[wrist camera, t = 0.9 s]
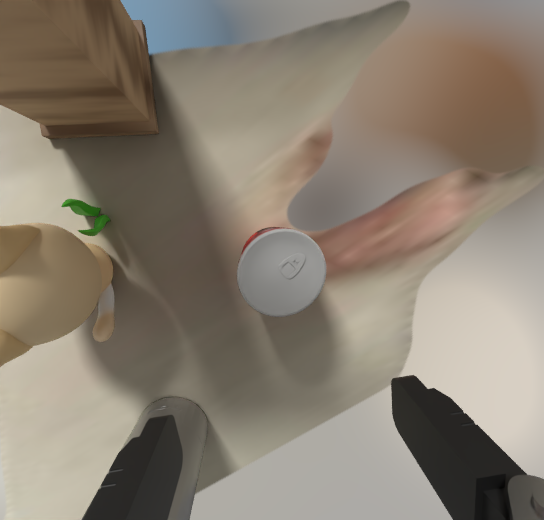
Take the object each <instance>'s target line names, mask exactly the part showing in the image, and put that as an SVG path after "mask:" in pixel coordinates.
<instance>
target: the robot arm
mask: <svg viewBox="0 0 544 520" xmlns="http://www.w3.org/2000/svg"><path fill="white" fill-rule="evenodd" d="M391 387H392V388H391V389H392V414H393V419H394V422H395V425H396V428H397V430H398V432H399V434H400V435H401V437H402V438H403V440H404V442H405V443H406V445H407V447H408V448H409V450H410V451H411V453H412V454H413V456H414V458H415V459H416V461H417V463H418V464H419V466H420V467H421V469H422V471H423V472H424V474H425V475H426V477H427V479H428V480H429V482H430V483H431V485H432V486H433V488H434V490H435V491H436V493H437V495H438V496H439V498H440V499H441V501H442V503H443V504H444V506H445V507H446V509H447V511H448V512H449V514H450V515H451V517H452V519H453V520H544V479H542V478H539V477H536V476H531V475H527V474H526V473H525V472H524V471H523V470H522V469H521V468H520V467H519V466H518V465H517V464H516V463H515V462H514V461H513V460H512V459H511V458H510V457H509V456H508V455H507V454H506V453H505V452H504V451H503V450H502V449H501V448H500V447H499V446H498V445H497V444H496V443H495V442H494V441H493V440H492V439H491V438H490V437H489V436H488V435H487V434H486V433H485V432H484V431H483V430H482V429H481V428H480V427H479V426H478V425H475V423H474V421H473V420H472V419H471V418H470V417H469V416H468V415H467V414H466V413H465V414H464V412H463V410H462V409H461V408H460V407H459V406H458V405H457V404H456V403H455V402H454V401H453V400H452V399H451V398H450V397H448V396H446V395H444V394H443V393H441V392H439V391H438V390H436V389H435V388H432V389H427V388H426V387H425V386H424V384H423V383H422V382H421V381H420V380H419V379H418V378H417V377H416V376H414V375H411V376H405V377H398V378H393V379H392V381H391ZM207 431H208V423H207V419H206V416H205V414H204V413H203V411H202V410H201V409H200V408H199V407H198V406H197V405H196V404H195V403H193V402H191V401H189V400H187V399H184V398H178V397H168V398H164V399H160V400H158V401H156V402H154V403H152V404H151V405H149V406H148V407H147V408H146V409H145V410H144V412H143V413H142V415H141V417H140V418H139V420H138V422H137V424H136V425H135V427H134V429H133V430H132V432H131V434H130V436H129V437H128V439H127V441H126V442H125V444H124V446H123V448H122V449H121V451H120V452H119V453H118V455H117V457H116V459H115V461H114V462H113V464H112V466H111V468H110V470H109V472H108V474H107V475H106V477H105V479H104V481H103V482H102V484H101V486H100V488H99V490H98V491H97V493H96V495H95V497H94V498H93V500H92V502H91V504H90V506H89V507H88V509H87V511H86V513H85V514H84V516H83V518H82V520H189V519H190V514H191V509H192V504H193V500H194V495H195V490H196V485H197V480H198V475H199V471H200V466H201V461H202V457H203V452H204V447H205V442H206V437H207Z"/></svg>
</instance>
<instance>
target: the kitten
mask: <svg viewBox="0 0 544 520" xmlns="http://www.w3.org/2000/svg"><path fill="white" fill-rule="evenodd" d="M67 206H70V207H71V209H72V210H73V211H74V212H75V213H76V214H78V215H86V216H96V217H97V218H96V219H95V223H94V229H89V230H77V231H79V232H81V233H82V234H85V235H88V236H95V235H97V234H98V233H99V232H100V231H101V230H102V229H103V227H104V226H105V224H106V222H108V221H110V219H109V217H108V216H107V215H101V216H99V217H98V215H99V211H100V209H101V208H96V207H92V206H90V205H88V204H86V203H84V202H83V201H79V200H75V199H68V200H66V201H65V202H64V203H63V205H62V207H67ZM112 278H113V265H112V262H111V259H110V257H109V256H108V254H107V253H106V252H105V251H104V250H103V249H102V248H101V247H99V246H97V245H94V244H89V243H83V242H82V241H81V240H80V239H79V238H77V237H76V236H75V235H73V234H72V233H70V232H69V231H67V230H65V229H63V228H61V227H58V226H55V225H51V224H44V223H28V224H21V225H12V226H0V367H1V366H2V365H4V364H5V363H7V362H9V361H11V360H13V359H15V358H17V357H19V356H21V355H22V354H24V353H26V352H27V351H29V350H30V349H31V348H32V347H33V346H35V345H40V344H44V343H47V342H50V341H53V340H56V339H58V338H60V337H63V336H65V335H67V334H68V333H70V332H72V331H73V330H75V329H76V328H77V327H79V326H80V325H81V324H82V323H83V322H84V321H85V320H86V319H87V318H88V317H89V316H90V315H91V313H92V312H93V310H94V309H95V307H96V305H97V303H98V318H97V321H96V323H95V325H94V328H93V337H94V339H95V340H96V341H98V342H104V341H106V340H108V339H109V338H110V336H111V335H112V333H113V331H114V327H115V320H114V303H115V297H114V291H113V287H112V284H111V281H112Z"/></svg>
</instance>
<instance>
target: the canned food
mask: <svg viewBox="0 0 544 520" xmlns="http://www.w3.org/2000/svg"><path fill="white" fill-rule="evenodd" d="M325 277H326V263H325V258H324V256H323V253H322V251H321V249H320V248H319V246H318V245H317V243H316V242H315V241H314V240H312V239H311V238H310V237H309V236H308V235H306V234H304V233H302V232H300V231H297V230H294V229H289V228H279V227H269V228H265V229H262V230H260V231H258V232H256V233H255V234H254V235H252V236H251V237H250V238H249V239H248V241H247V242H246V244H245V246H244V248H243V251H242V253H241V256H240V259H239V262H238V269H237V282H238V285H239V289H240V292H241V294H242V296H243V298H244V299H245V300H246V302H247V303H248V304H249V305H250V306H251V307H252V308H254V309H255V310H256V311H258V312H260V313H262V314H265V315H268V316H274V317H283V316H289V315H293V314H296V313H298V312H300V311H302V310H304V309H305V308H307V307H308V306H309V305H310V304H311V303H312V302H313V301H314V300H315V299H316V298H317V297H318V295H319V293H320V292H321V290H322V287H323V285H324V282H325Z"/></svg>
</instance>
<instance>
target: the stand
mask: <svg viewBox="0 0 544 520" xmlns="http://www.w3.org/2000/svg"><path fill="white" fill-rule="evenodd" d="M0 105H2V106H5V107H7V108H9V109H11V110H13V111H15V112H17V113H19V114H21V115H23V116H26V117H28V118H30V119H32V120H34V121H36V122H38V123H40V128H41V133H42V136H44V137H46V138H48V139H55V138H76V137H98V136H119V135H140V134H159V131H158V123H157V115H156V108H155V100H154V92H153V84H152V77H151V69H150V61H149V53H148V45H147V38H146V30H145V26H144V24H143V22H142V20H131V18H130V16H129V15H128V13H127V11H126V9H125V8H124V6H123V4H122V3H121V1H120V0H0Z"/></svg>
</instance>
